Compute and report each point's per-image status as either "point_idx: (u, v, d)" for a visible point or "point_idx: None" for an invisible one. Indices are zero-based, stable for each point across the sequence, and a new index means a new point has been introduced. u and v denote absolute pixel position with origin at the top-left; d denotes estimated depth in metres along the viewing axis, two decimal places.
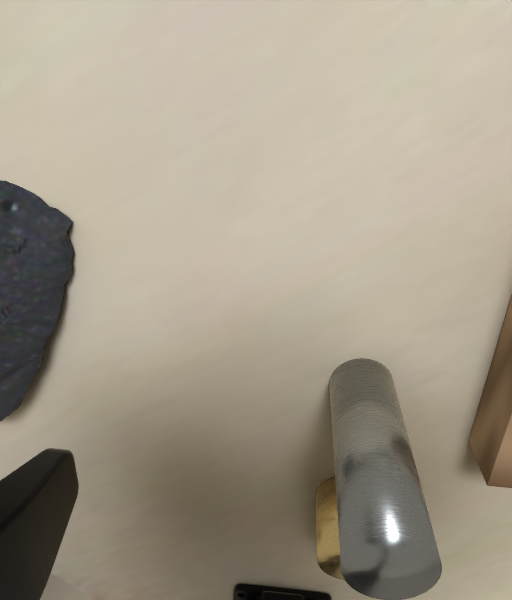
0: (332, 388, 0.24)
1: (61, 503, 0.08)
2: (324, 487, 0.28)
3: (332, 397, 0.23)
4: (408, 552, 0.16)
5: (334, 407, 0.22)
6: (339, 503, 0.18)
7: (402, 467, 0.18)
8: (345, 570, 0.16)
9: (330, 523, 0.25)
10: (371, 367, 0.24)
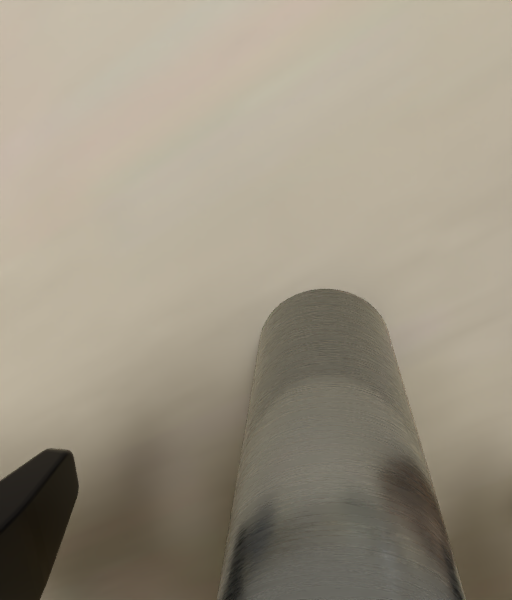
0: (259, 350, 0.11)
1: (61, 503, 0.08)
2: None
3: (256, 368, 0.11)
4: None
5: (253, 388, 0.10)
6: None
7: (418, 575, 0.05)
8: None
9: None
10: (342, 304, 0.11)
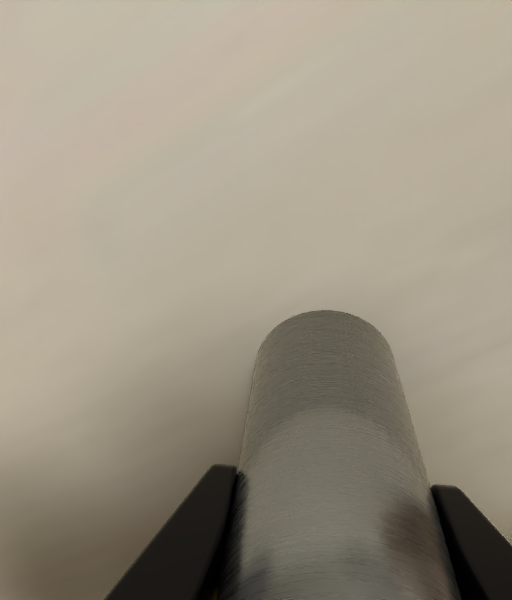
0: (254, 377, 0.10)
1: None
2: None
3: (250, 398, 0.10)
4: None
5: (247, 423, 0.09)
6: None
7: None
8: None
9: None
10: (343, 328, 0.10)
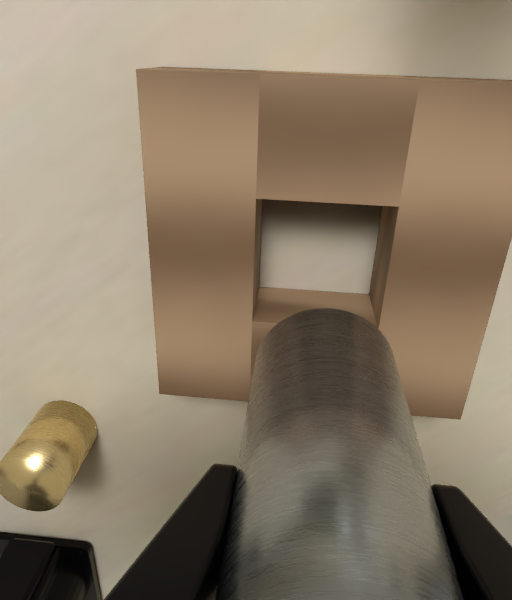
0: (254, 375, 0.10)
1: None
2: None
3: (250, 396, 0.10)
4: None
5: (247, 421, 0.09)
6: None
7: None
8: None
9: (14, 446, 0.22)
10: (343, 325, 0.10)
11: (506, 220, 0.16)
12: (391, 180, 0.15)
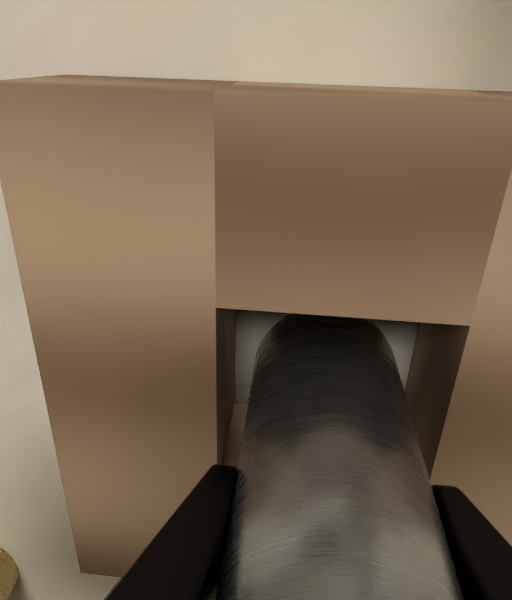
0: (254, 375, 0.10)
1: None
2: None
3: (250, 395, 0.10)
4: None
5: (247, 420, 0.09)
6: None
7: None
8: None
9: None
10: (343, 325, 0.10)
11: None
12: (459, 283, 0.08)
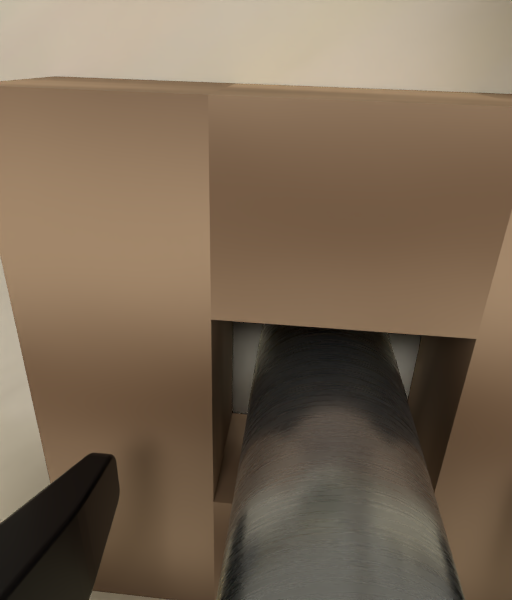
0: (259, 349, 0.11)
1: (106, 507, 0.08)
2: None
3: (256, 367, 0.11)
4: None
5: (253, 387, 0.10)
6: None
7: (416, 572, 0.05)
8: None
9: None
10: None
11: None
12: (464, 295, 0.08)
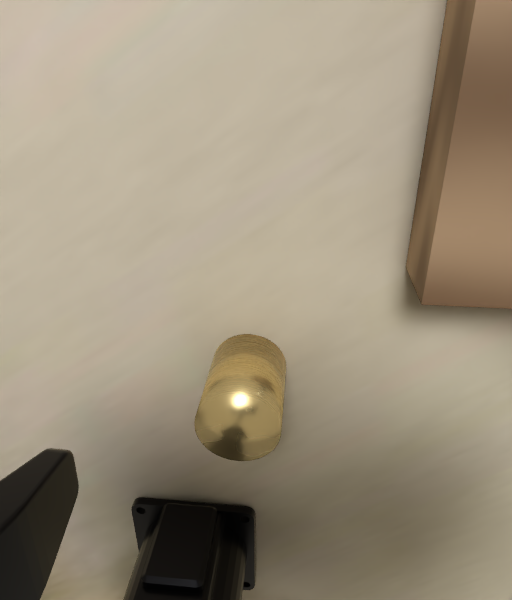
0: None
1: (61, 503, 0.08)
2: (220, 349, 0.21)
3: None
4: None
5: None
6: None
7: None
8: None
9: (214, 382, 0.18)
10: None
11: None
12: None
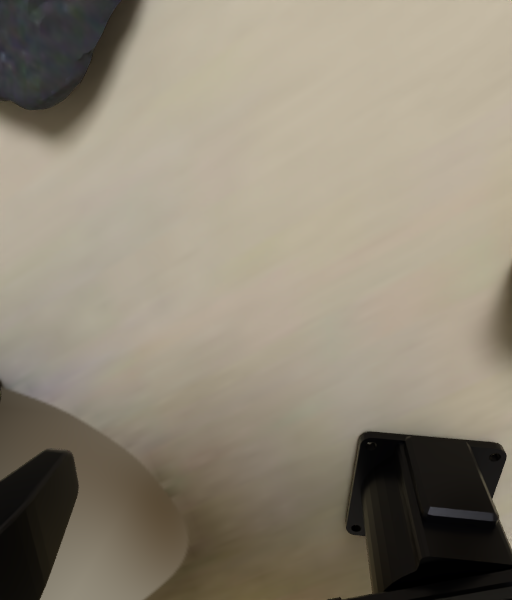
0: None
1: (61, 503, 0.08)
2: None
3: None
4: None
5: None
6: None
7: None
8: None
9: None
10: None
11: None
12: None
